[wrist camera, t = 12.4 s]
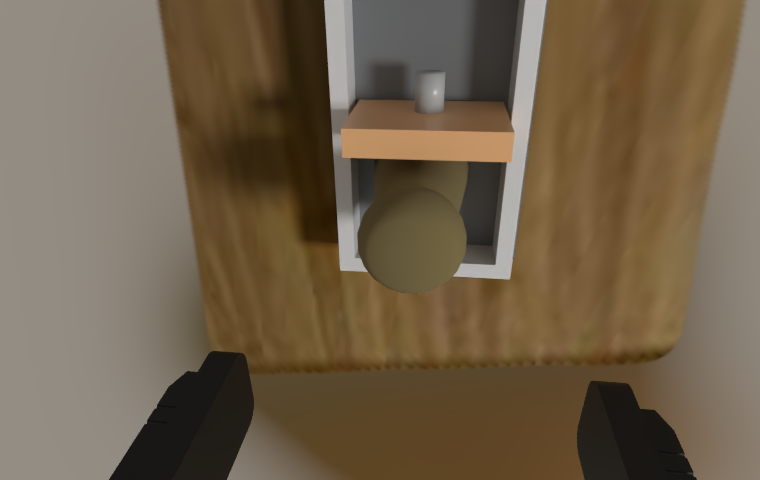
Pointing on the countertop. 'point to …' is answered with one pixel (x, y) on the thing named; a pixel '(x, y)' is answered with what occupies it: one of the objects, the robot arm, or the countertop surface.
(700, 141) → the countertop surface
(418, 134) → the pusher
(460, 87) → the white walled tray
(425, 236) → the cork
